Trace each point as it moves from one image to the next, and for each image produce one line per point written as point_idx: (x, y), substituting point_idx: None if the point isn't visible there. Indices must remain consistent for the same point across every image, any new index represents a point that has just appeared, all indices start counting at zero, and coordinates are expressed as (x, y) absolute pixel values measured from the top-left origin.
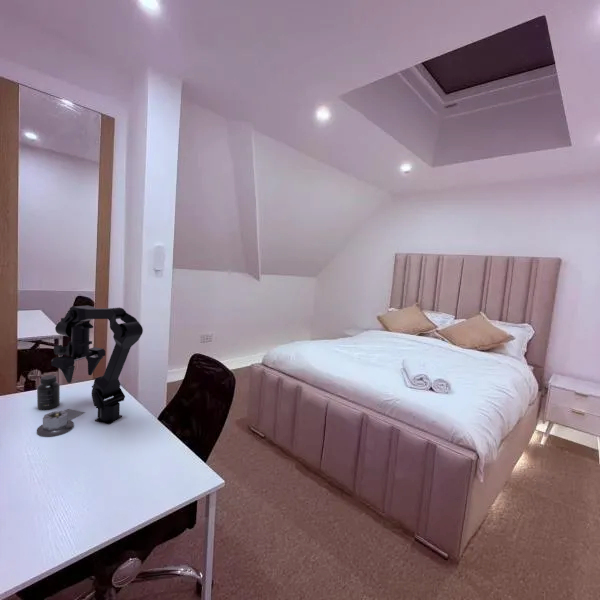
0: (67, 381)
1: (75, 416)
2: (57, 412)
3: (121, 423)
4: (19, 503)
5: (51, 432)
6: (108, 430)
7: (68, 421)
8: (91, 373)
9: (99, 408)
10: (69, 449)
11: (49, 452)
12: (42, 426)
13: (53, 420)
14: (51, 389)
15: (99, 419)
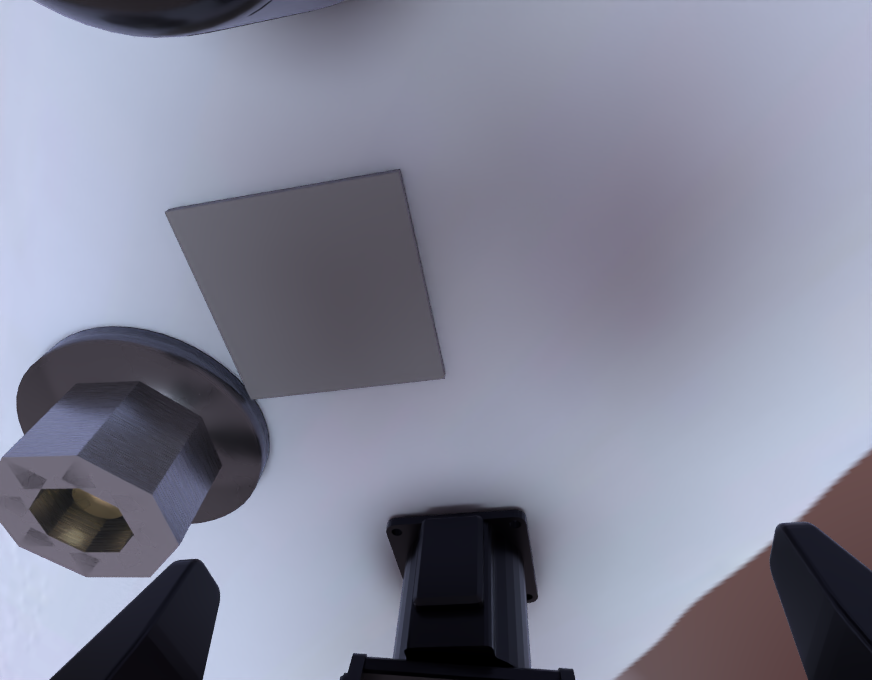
0: (158, 592)
1: (345, 374)
2: (108, 494)
3: None
4: None
5: None
6: (370, 623)
7: (238, 446)
8: (794, 630)
9: (410, 613)
10: None
11: (62, 574)
12: (61, 376)
13: (55, 555)
14: (104, 27)
15: (413, 541)
